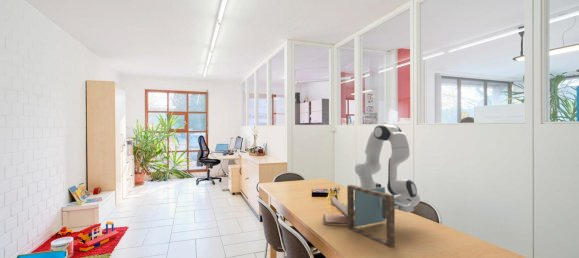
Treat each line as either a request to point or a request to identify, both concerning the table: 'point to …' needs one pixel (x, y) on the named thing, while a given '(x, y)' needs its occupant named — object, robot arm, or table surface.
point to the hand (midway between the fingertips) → (387, 206)
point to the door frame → (389, 214)
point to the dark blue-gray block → (385, 208)
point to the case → (337, 218)
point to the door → (368, 208)
